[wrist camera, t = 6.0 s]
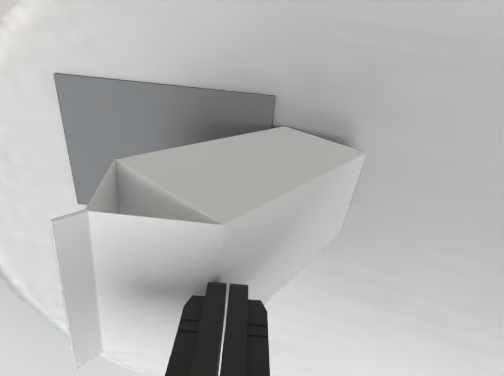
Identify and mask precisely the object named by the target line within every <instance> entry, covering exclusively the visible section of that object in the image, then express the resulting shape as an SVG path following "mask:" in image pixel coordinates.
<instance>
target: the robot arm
mask: <svg viewBox="0 0 504 376" xmlns="http://www.w3.org/2000/svg"><path fill="white" fill-rule="evenodd" d="M226 289H227V283H218V282H208V284H207V289H206V294H205V296H197V295H192V296H191V298H190V299H189V300H188V301H187V303H186V304H185V305H184V307H183V311H182V315H181V318H180V322H179V326H178V330H177V333H176V337H175V341H174V344H173V348H172V352H171V355H170V359H169V363H168V367H167V370H166V374H165V376H218V371H219V362H220V353H221V344H222V335H223V326H224V316H225V303H226ZM220 376H270V368H269V344H268V321H267V311H266V309H265V307H264V305H263V303H262V301H261V300H251V299H248V285H245V284H232V283H230V286H229V296H228V305H227V315H226V324H225V333H224V343H223V352H222V362H221V371H220Z"/></svg>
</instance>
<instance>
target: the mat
mask: <svg viewBox="0 0 504 376" xmlns="http://www.w3.org/2000/svg"><path fill="white" fill-rule="evenodd" d="M54 80H55V85H56V90H57V96H58V101H59V106H60V112H61V117H62V122H63V128H64V133H65V138H66V144H67V149H68V154H69V160H70V165H71V170H72V176H73V181H74V186H75V192H76V197H77V202H78V204H85V205H88V203H89V202H90V200H91V198H92V197H93V195H94V193H95V192H96V190H97V188H98V187H99V185H100V183H101V181H102V180H103V178H104V176H105V175H106V173H107V171H108V170H109V168H110V166H111V165H112V163H113V161H114V160H115V159H121V158H125V157H130V156H135V155H140V154H145V153H150V152H155V151H160V150H166V149H171V148H176V147H181V146H186V145H191V144H196V143H201V142H206V141H212V140H217V139H222V138H227V137H232V136H237V135H242V134H247V133H252V132H258V131H263V130H268V129H272V121H273V112H274V104H275V96H272V95H262V94H252V93H243V92H233V91H223V90H213V89H204V88H194V87H184V86H174V85H164V84H155V83H145V82H135V81H125V80H116V79H106V78H96V77H86V76H76V75H67V74H57V73H55V74H54Z"/></svg>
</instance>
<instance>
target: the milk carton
mask: <svg viewBox="0 0 504 376" xmlns="http://www.w3.org/2000/svg"><path fill="white" fill-rule="evenodd" d="M365 158H366V153H365V152H363V151H360V150H357V149H354V148H351V147H348V146H344V145H341V144H338V143H335V142H332V141H329V140H326V139H323V138H320V137H317V136H314V135H311V134H308V133H305V132H302V131H298V130H295V129H292V128H289V127H286V126H283V127H278V128H273V129H268V130H263V131H258V132H252V133H247V134H242V135H237V136H232V137H227V138H222V139H217V140H212V141H206V142H201V143H196V144H191V145H186V146H181V147H176V148H171V149H166V150H160V151H155V152H150V153H145V154H140V155H135V156H130V157H125V158H121V159H115V160H114V161H113V163H112V165H111V166H110V168H109V170H108V171H107V173H106V175H105V176H104V178H103V180H102V181H101V183H100V185H99V187H98V188H97V190H96V192H95V193H94V195H93V197H92V198H91V200H90V202H89V203H88V205H87V207H86V208H85V210H81V211H78V212H75V213H71V214H68V215H65V216H62V217H58V218H55V219H52V220H50V221H49V226H50V232H51V238H52V243H53V249H54V255H55V260H56V266H57V271H58V277H59V283H60V288H61V294H62V300H63V305H64V311H65V317H66V322H67V328H68V334H69V339H70V345H71V351H72V356H73V362H74V365H75V367H76V369H78V368H80V367H81V366H83V365H84V364H86V363H87V362H88V361H90V360H91V359H93V358H94V357H96V356H97V355H99V354H100V353H102V352H112V353H129V354H146V355H162V356H170V355H171V352H172V348H173V344H174V341H175V337H176V333H177V330H178V326H179V322H180V318H181V315H182V311H183V307H184V305H185V304H186V303H187V301H188V300H189V299H190V298H191V296H192V295H197V296H205V294H206V289H207V284H208V282H218V283H227V289H226V303H225V316H224V326H223V335H222V344H223V343H224V333H225V324H226V315H227V305H228V296H229V286H230V283H232V284H245V285H248V299H251V300H261V301H262V303H263V305H264V304H265V303H266V302H267V301H268V300H269V299H270V298H272V297H273V296H274V295H275V294H276V293H277V292H278V291H279V290H280V289H281V288H282V287H283V286H284V285H285V284H286V283H288V282H289V281H290V280H291V279H292V278H293V277H294V276H295V275H296V274H297V273H298V272H299V271H300V270H301V269H302V268H303V267H305V266H306V265H307V264H308V263H309V262H310V261H311V260H312V259H313V258H314V257H315V256H316V255H317V254H318V253H319V252H321V251H322V250H323V249H324V248H325V247H326V246H327V245H328V244H329V243H330V242H331V241H332V240H333V239H334V238H335V237H337V236H338V235H339V233H340V232H341V229H342V227H343V224H344V221H345V218H346V215H347V212H348V209H349V206H350V203H351V200H352V197H353V194H354V191H355V188H356V185H357V182H358V179H359V176H360V173H361V170H362V167H363V164H364V161H365Z"/></svg>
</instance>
